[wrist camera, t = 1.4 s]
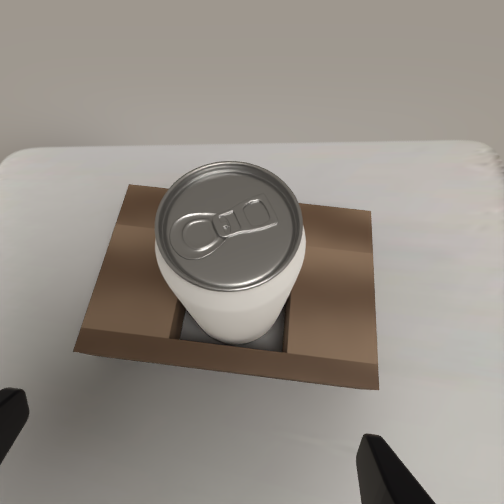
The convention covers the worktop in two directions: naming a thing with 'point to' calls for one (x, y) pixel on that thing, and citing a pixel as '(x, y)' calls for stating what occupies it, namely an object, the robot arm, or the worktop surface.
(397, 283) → the worktop surface
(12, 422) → the robot arm
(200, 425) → the worktop surface
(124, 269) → the socket block
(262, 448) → the worktop surface
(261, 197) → the can
